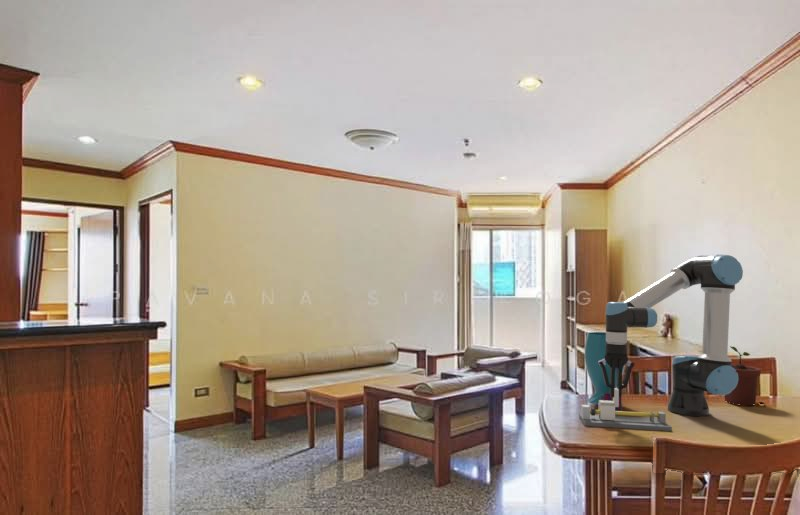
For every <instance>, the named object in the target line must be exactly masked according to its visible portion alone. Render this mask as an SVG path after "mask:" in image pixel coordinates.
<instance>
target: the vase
mask: <svg viewBox="0 0 800 515" xmlns="http://www.w3.org/2000/svg"><path fill="white" fill-rule="evenodd" d="M585 337H586V338H585V343H584V344H585V345H584V364H585V369H586V371H587V374H588V377H589V379H590V381H591V384H592V386H593V389H594V394H593V395H592V396H591V397H589V398H588V399H587V401H588V403H589V404H594V405H597V406H598V402H599V400H600V399H601V398H602V397H604V394H605V393H610V388H609V387H607V386H606V385H605V382H604V378H603V374H602V370H601V366H600V365H599V363H598V361H599V360H600V361H601V360H602V359H604V356H605V354H606V343H607V342H606V332H600V331H596V332H595V331H594V332H593V331H592V332H591V331H590V332H587V333H586V336H585ZM605 363H606V364H605V368H606V372H607V376H608V380H609V384H610V366H609V365H608V364H607V362H605ZM625 368H626V364H625V365H624V367H623V368H622V376H624V374H625V370H626V369H625ZM615 388H617V368H615ZM603 400H604V399H603ZM621 406H623V403H622V402H621Z"/></svg>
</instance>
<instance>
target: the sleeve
mask: <svg viewBox="0 0 800 515" xmlns="http://www.w3.org/2000/svg"><path fill="white" fill-rule="evenodd" d="M597 406H598V408H597V410H600V414H597V415H598V417H600V419H601V420H615V416H616V415H615V403H614V402H613V401H608V400H599V402H598V405H597Z"/></svg>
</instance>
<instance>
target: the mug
mask: <svg viewBox="0 0 800 515" xmlns="http://www.w3.org/2000/svg"><path fill="white" fill-rule="evenodd" d="M603 399H604V400H608V401H613V397H611V396H610V393H605V394H604V397H602V398H601V399H600V400H603ZM621 403H622V397H621V398H619V407H615V411H622V405H621Z"/></svg>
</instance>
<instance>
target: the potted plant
mask: <svg viewBox="0 0 800 515" xmlns="http://www.w3.org/2000/svg"><path fill="white" fill-rule="evenodd" d="M729 347H730V348H731V349H732V350H733V351H734V352H737V353H738V355H739V363H736V364H732V366H731V367H733V368H734V369H735V370H736V372H737V373H738V383H737V386H736V388H735V389H734V390H732V392H731V393H729V394H726V395H724V402H725V401H727V402H730V403H734V404H740V405H753V404H755V403H756V402H757V401H756V400H757V389H758V388H757V387H758V377H760V376H761V373H762V372H761V371H762V369H761V368H759V367H755V366H748V365H744V364H742V356H745V357H749V356H750V355H751V354H750V353H749V352H746V351H743V352H742V354H741V353H740V351H738V349H737V347H735V346H730V345H729ZM758 403H760V404H765V405H766V403H765V402H763V401H759V402H758ZM756 404H757V403H756ZM756 404H755V405H756ZM740 405H739V406H740Z"/></svg>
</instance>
